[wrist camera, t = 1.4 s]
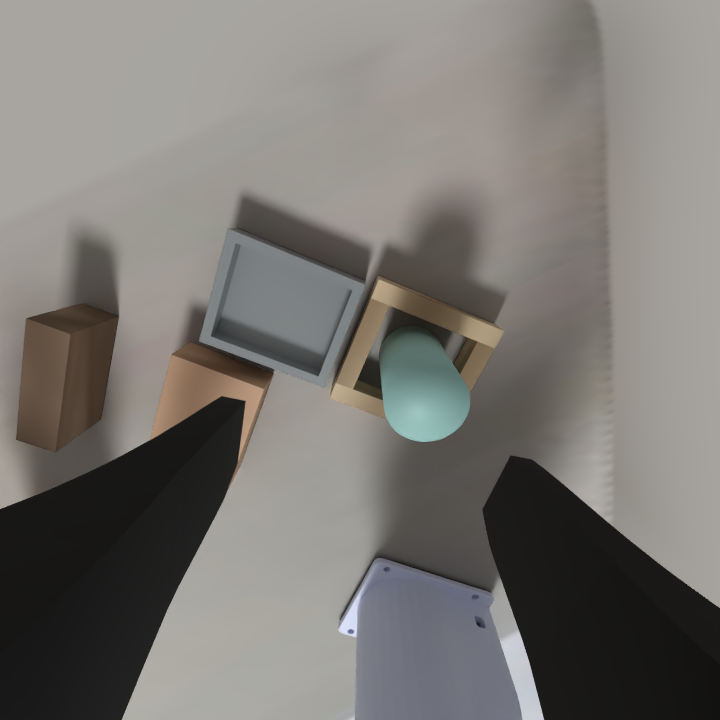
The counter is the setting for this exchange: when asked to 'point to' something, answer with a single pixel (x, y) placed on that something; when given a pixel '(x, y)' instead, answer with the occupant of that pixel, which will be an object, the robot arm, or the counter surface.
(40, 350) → the stop block
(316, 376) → the tray
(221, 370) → the tan cardboard block
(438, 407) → the teal capsule
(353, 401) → the socket block
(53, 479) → the counter surface
